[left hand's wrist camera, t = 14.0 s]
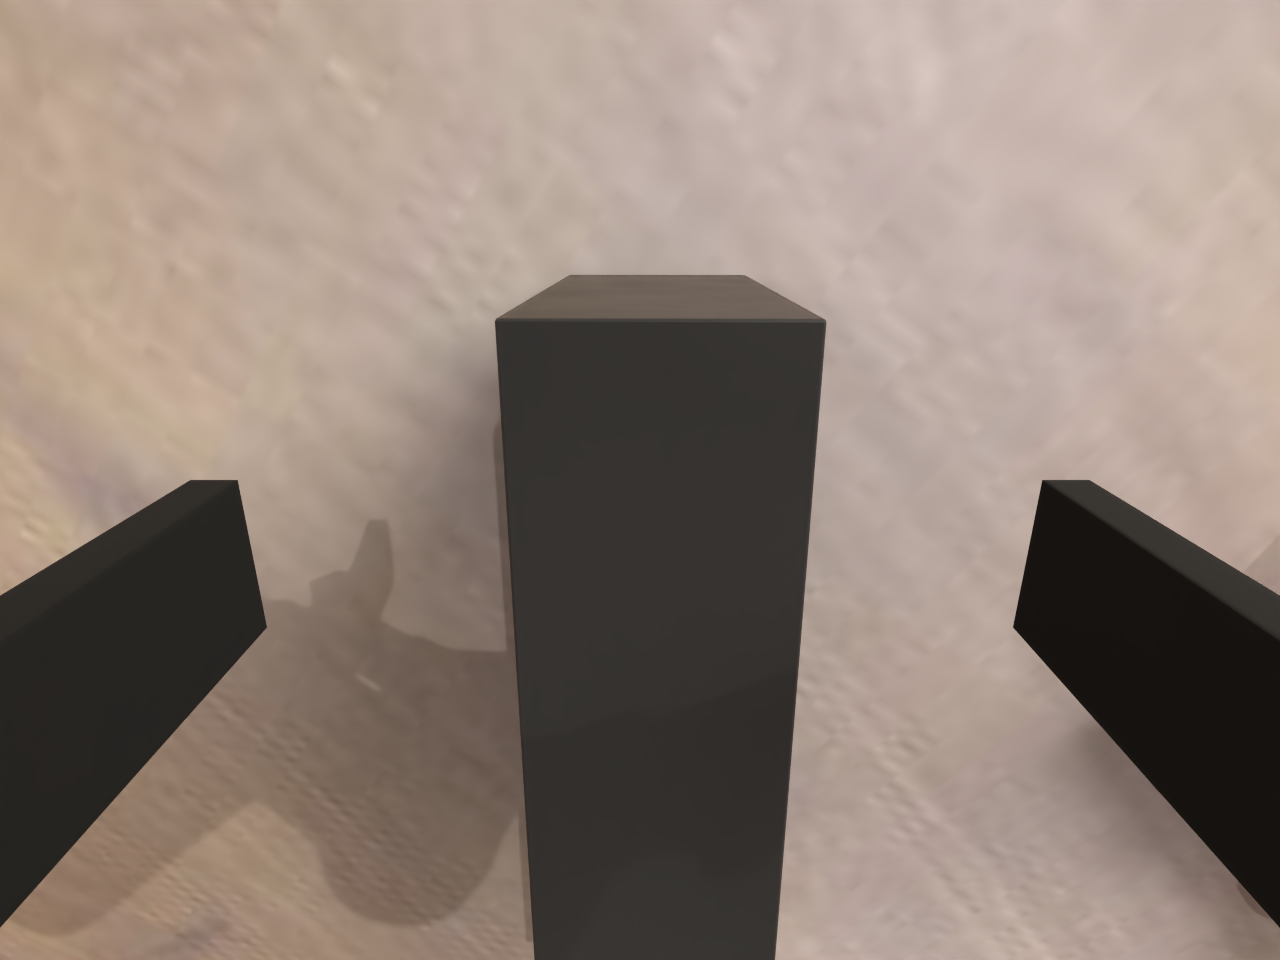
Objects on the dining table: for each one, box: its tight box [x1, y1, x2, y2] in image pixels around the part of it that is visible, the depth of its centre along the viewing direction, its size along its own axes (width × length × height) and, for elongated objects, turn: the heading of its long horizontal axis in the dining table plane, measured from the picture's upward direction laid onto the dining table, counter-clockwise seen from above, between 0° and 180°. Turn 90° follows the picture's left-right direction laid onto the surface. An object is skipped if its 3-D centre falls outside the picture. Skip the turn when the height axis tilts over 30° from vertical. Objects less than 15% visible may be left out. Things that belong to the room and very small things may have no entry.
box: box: [495, 275, 826, 960], centre depth 24 cm, size 26×6×13 cm, turn 0°
